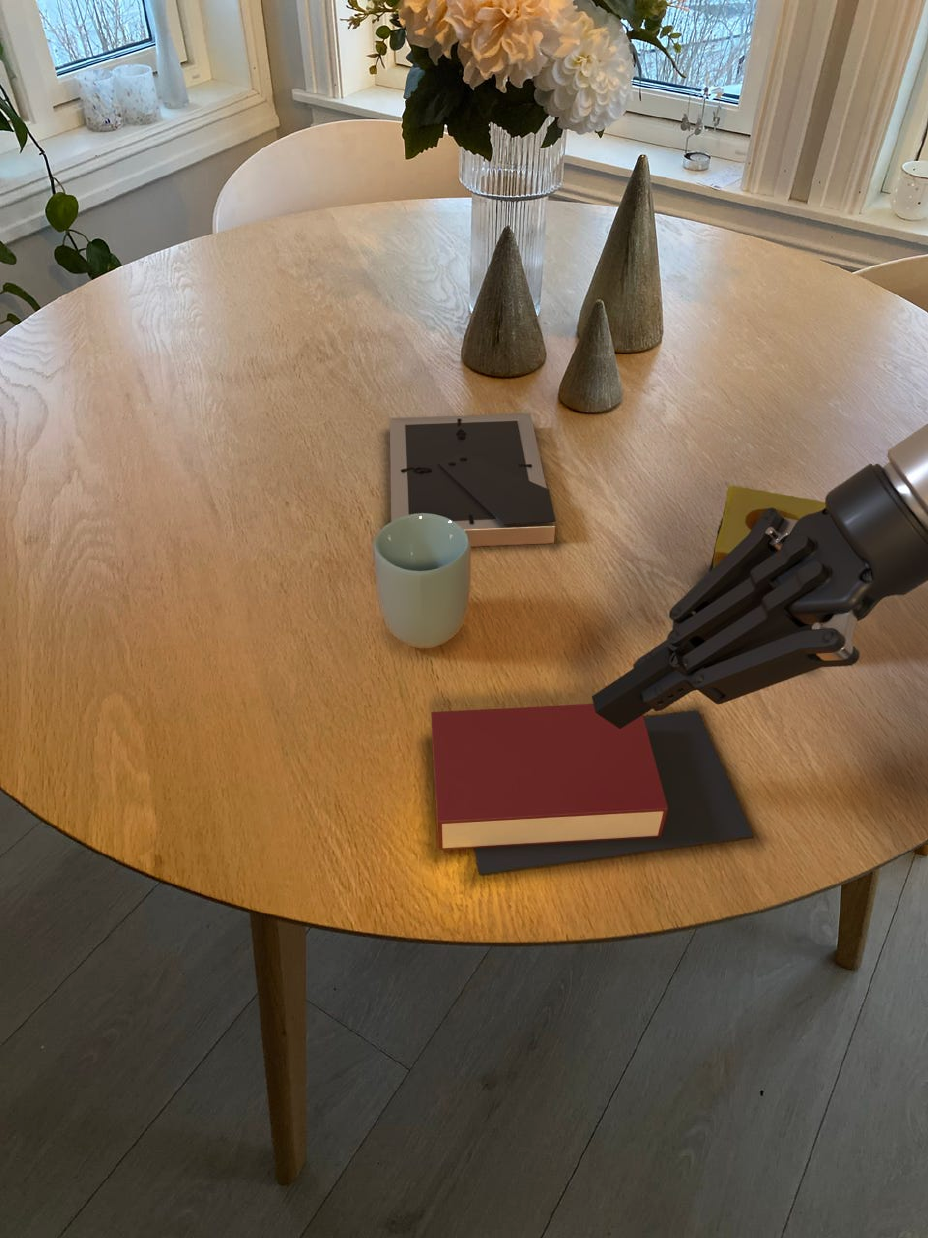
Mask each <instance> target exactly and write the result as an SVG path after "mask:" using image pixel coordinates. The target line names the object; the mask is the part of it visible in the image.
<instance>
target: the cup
mask: <svg viewBox="0 0 928 1238" xmlns="http://www.w3.org/2000/svg"><path fill="white" fill-rule="evenodd" d="M471 548H472V547H470V542H469V537H468V535H467V534H466V532H465V531H464V530H463V529H462V528H461V527H460V526H459V525H458V524H457V523H455V522H454V521H452V520H450V519H448V518H445V517H443V516H440V515H435V514H429V513H418V514H411V515H406V516H403V517H401V518H398V519H396V520H394V521H392V522H391V521H390V522H389V523H387V524H386V525H384V526H383V527H382V528H381V529H379V531H378V533H377V534H376V536H375V538H374V541H373V547H372V550H373V563H374V564H373V565H374V575H375V585H376V595H377V600H378V605H379V610H380V613H381V616H382V619H383V621H384V623H385V625H386V627H387V629H388V631H389V632H390V633H391V634H392V635H393V636H394V637H395V638H396V639H397V640H398V641H400V642H402V643H403V644H404V645H407V646H410V647H412V648H416V649H432V648H436V647H439V646H442V645H444V644H445V643H447V642H448V641H450V640H451V639H452V638H454V637H455V636H456V635H457V633H458V632H459V631H460V630H461V628H462V626H463V624H464V622H465V620H466V618H467V615H468V608H469V603H470V595H471V581H472V579H471V578H472V577H471V576H472V553H471V551H472V549H471Z"/></svg>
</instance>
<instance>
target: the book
mask: <svg viewBox="0 0 928 1238" xmlns="http://www.w3.org/2000/svg"><path fill="white" fill-rule="evenodd" d="M430 714H431V715H430V716H431V717H430V718H431V741H432V761H433V775H434V776H433V778H434V791H435V792H434V793H435V794H434V795H435V812H436V827H437V828H436V829H437V830H436V831H437V847H438V848H437V849H438V851H451V850H465V849H474V848H484V847H501V846H518V845H535V844H552V843H569V842H586V841H603V840H620V839H637V838H654V837H661V835H662V831H663V827H664V823H665V819H666V815H667V811H668V806H667V803H666V799H665V795H664V791H663V788H662V784H661V780H660V777H659V773H658V769H657V765H656V762H655V758H654V754H653V751H652V747H651V743H650V739H649V736H648V732H647V728H646V725H645V721H644V718H645V717H644V714H643V715H642V716H640V717H639V718H637V719H635V720H634V721H632V722H631V723H629V724H628V725H626V726H624V727H623V728H621V729H619V728H617V727H616V726H615V725H613V724H612V723H610V722H609V721H607V720H606V719H604V718H603V717H601V716H600V715H598V714H597V713H595V708H594V704H593V703H581V704H578V703H577V704H562V705H559V704H558V705H543V706H539V705H538V706H522V707H502V708H484V709H467V710H466V709H465V710H445V711H444V710H443V711H431V713H430Z"/></svg>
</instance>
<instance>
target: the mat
mask: <svg viewBox="0 0 928 1238" xmlns="http://www.w3.org/2000/svg"><path fill="white" fill-rule="evenodd" d="M644 721H645V725H646V728H647V732H648V736H649V739H650V743H651V747H652V751H653V754H654V758H655V762H656V765H657V769H658V773H659V777H660V780H661V784H662V788H663V791H664V795H665V799H666V803H667V806H668V811H667V815H666V819H665V823H664V827H663V831H662V835H661V837H654V838H637V839H620V840H603V841H586V842H569V843H552V844H535V845H518V846H501V847H484V848H473V849H474V854H475V855H474V856H475V861H476V866H477V871H478V876H485V875H492V874H500V873H508V872H513V871H514V872H515V871H521V870H528V869H534V868H535V869H536V868H542V867H543V868H544V867H551V866H558V865H563V864H564V865H565V864H571V863H577V862H587V861H593V860H599V859H600V860H601V859H608V858H615V857H623V856H629V855H630V856H631V855H637V854H643V853H650V852H659V851H664V850H672V849H678V848H687V847H693V846H701V845H709V844H714V843H715V844H716V843H722V842H729V841H736V840H737V841H738V840H744V839H752V838H753V837H754V833H753V830H752V828H751V826H750V824H749V822H748V819H747V817H746V814H745V813H744V810H743V808H742V805H741V803H740V802H739V799H738V797H737V795H736V792H735V790H734V788H733V785H732V783H731V781H730V779H729V776H728V775H727V774H728V773H727V772H726V770H725V768H724V765H723V763H722V761H721V759H720V756H719V753H718V752H717V749H716V747H715V745H714V743H713V740H712V738H711V736H710V734H709V731H708V729H707V727H706V725H705V723H704V721H703V718H702V715H701V713H700V712H699V710H695V711H687V712H686V711H685V712H679V713H677V712H676V713H670V714H661V715H654V716H645V717H644Z"/></svg>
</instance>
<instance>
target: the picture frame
mask: <svg viewBox="0 0 928 1238" xmlns="http://www.w3.org/2000/svg"><path fill="white" fill-rule="evenodd" d="M534 428H535V427H534V423H533V418H532V415H531V412H520V413H491V414H490V413H489V414H463V415H462V414H461V415H439V416H436V415H435V416H434V415H433V416H413V417H412V416H411V417H409V416H407V417H390V418H389V443H390V444H389V455H390V456H389V457H390V459H389V460H390V461H389V462H390V463H389V465H390V522H392V521H394V520H396V519H398V518H401V517H403V516H406V515H411V514H418V513H429V514H435V515H440V516H443V517H445V518H448V519H450V520H452V521H454V522H455V523H457V524H458V525H459V526H460V527H461V528H462V529H463V530H464V531H465V532H466V534H467V535H468V537H469V542H470V548H473V547H475V548H476V547H494V546H495V547H496V546H497V547H499V546H521V545H542V544H544V545H545V544H554V543H555V532H556V524H555V523H556V521H557V520H556V515H555V510H554V507H553V506H554V505H553V503H552V502H553V501H552V498H551V493H550V489H549V488H547V482H546V478H545V474H544V469H543V464H542V461H541V455H540V451H539V446H538V441H537V437H536V433H535V429H534Z"/></svg>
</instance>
